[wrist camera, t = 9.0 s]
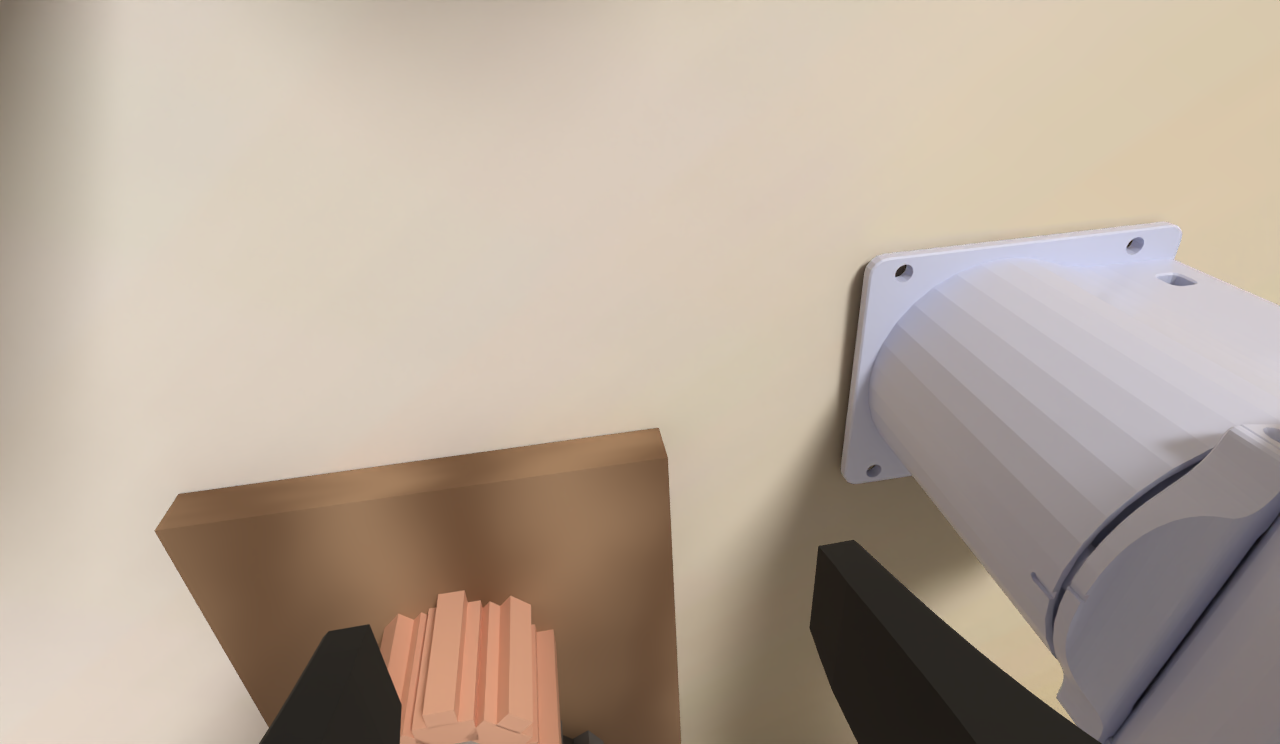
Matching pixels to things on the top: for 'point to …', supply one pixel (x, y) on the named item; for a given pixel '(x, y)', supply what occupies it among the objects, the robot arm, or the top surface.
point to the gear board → (454, 567)
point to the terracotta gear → (474, 674)
